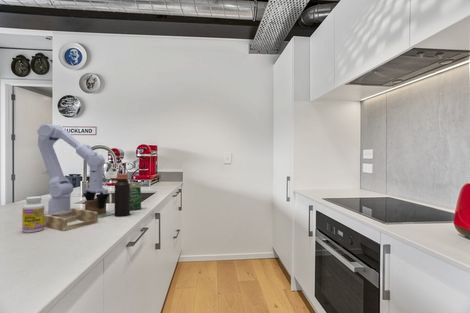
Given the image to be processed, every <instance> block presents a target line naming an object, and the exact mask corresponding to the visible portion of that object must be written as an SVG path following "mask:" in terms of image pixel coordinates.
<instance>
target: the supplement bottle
mask: <svg viewBox="0 0 470 313" xmlns="http://www.w3.org/2000/svg"><path fill="white" fill-rule="evenodd" d="M41 201H42V196H40V195H39V196H28V197H26V198H25V202H26V204H24V205H23V206H22V215H21V216H22V226H21V228H22V229H21V230H22V232H23V233H29V234H30V233H35V232H36V233H38V232H40V231H43V230H44V229H45V227H44V214H45V204H44V203H43V202H41Z"/></svg>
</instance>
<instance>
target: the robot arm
mask: <svg viewBox="0 0 470 313" xmlns="http://www.w3.org/2000/svg"><path fill="white" fill-rule="evenodd" d="M36 132H37V134H38V138H37V146H38V148H39V151H40V154H41V156H42V160H43V161H44V162H43V163H44V164H45V167H46V170H47V173H48V176H49V178H50V180H49V182H48V187H49V188H48V193H49V195H50V196H51V197H50V198H49V200H48V208H47V210H48V211H47V214H46V215H51V214H55V213H58V212H62V211H70V209H71V197H72V196H71V195H72V193H73V191H74V185H73V184H72V183H71V182H70V180H69V178H68V177H66V176H65V175H64V173H63V172H64V171H63V169H62V166H61V165H60V161H59V159H58V156H57V153H56V150H55V148H54V145H55V143H56V142H58V141H59V140H63V141H64V142H65V143H67V144H68V145H70V147H73V148H74V149H75V153H76V154H77V155H78V156H80V157H81V158H82V159H83V160H84V161H85V162H86V163H87V166H89V179H88V181H89V186H88V187H85V188H84V193H83V197H84V198H85V201H89V200H95V197H96V199H97V200H98V207H99V209H102V208H104V205H105V202H106V203H107V199H108V197H109V195H110V194H109V189H107V188H105V187H104V182H103V180H104V178H103V177H104V165H105V162H106V161H105V157H104V156H103V155H101V154H98V152H97V151H94V150H93V149H92V148H91V145H89V144H88V145H87V144H85V143H84V144H81V143H80V141H78V140H77V139H76V138H75V137H74V136H73V135H72V134H71V133H70V132H69V131H68V130H67V129H66V128H63V127H62V126H61V125H57V124H51V123H42V124H40V126H39V128H38V129H37V131H36Z"/></svg>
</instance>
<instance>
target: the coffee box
mask: <svg viewBox="0 0 470 313" xmlns="http://www.w3.org/2000/svg"><path fill="white" fill-rule="evenodd" d="M141 209H142V190H141V185H140V184H136V185H133V184H132V185H130V211H136V210H137V211H139V210H141Z"/></svg>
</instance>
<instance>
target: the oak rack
mask: <svg viewBox="0 0 470 313" xmlns="http://www.w3.org/2000/svg"><path fill="white" fill-rule="evenodd" d="M70 211H72V216H76V221H80V222H78V223H73V224H68V223H67V219H66V218H61V217H56V216H51V215H47V214H45V213H44V228H45V227H46V228H49V229H54V230H59V231H63V232H66V231H69V230H73V229H77V228H83V227H84V226H90V225H92V224H94V225H95V224H97V223H99V222H98V221H99V218H98V212H94V211H88V210H85V209H80V208H73V207H72V208H71V207H70Z"/></svg>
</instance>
